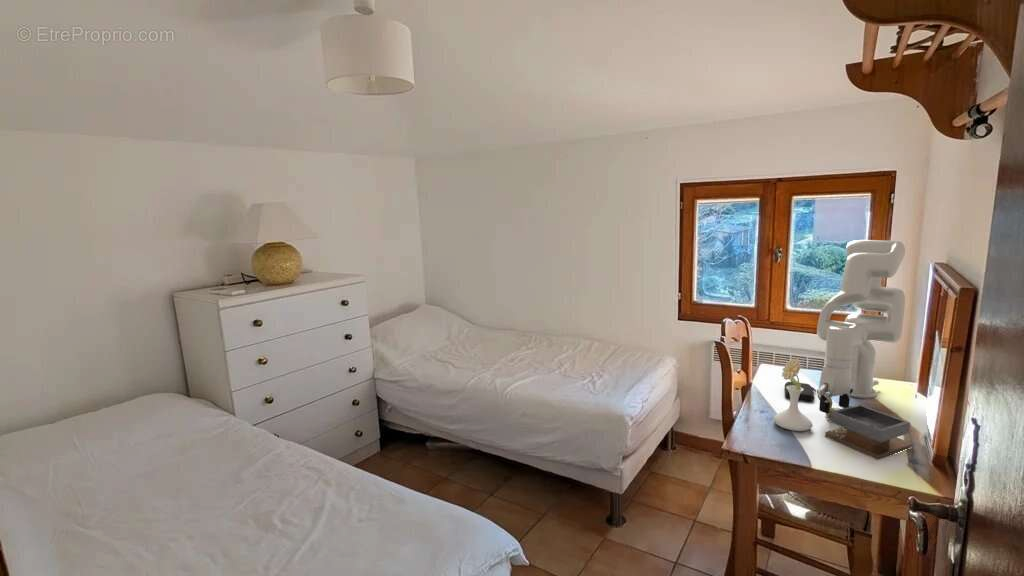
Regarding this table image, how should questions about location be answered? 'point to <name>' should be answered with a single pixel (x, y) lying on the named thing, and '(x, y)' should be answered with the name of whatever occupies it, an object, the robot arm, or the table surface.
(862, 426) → the tray stand
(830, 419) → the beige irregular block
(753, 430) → the table surface
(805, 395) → the carrying case or bag
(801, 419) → the flower in vase
